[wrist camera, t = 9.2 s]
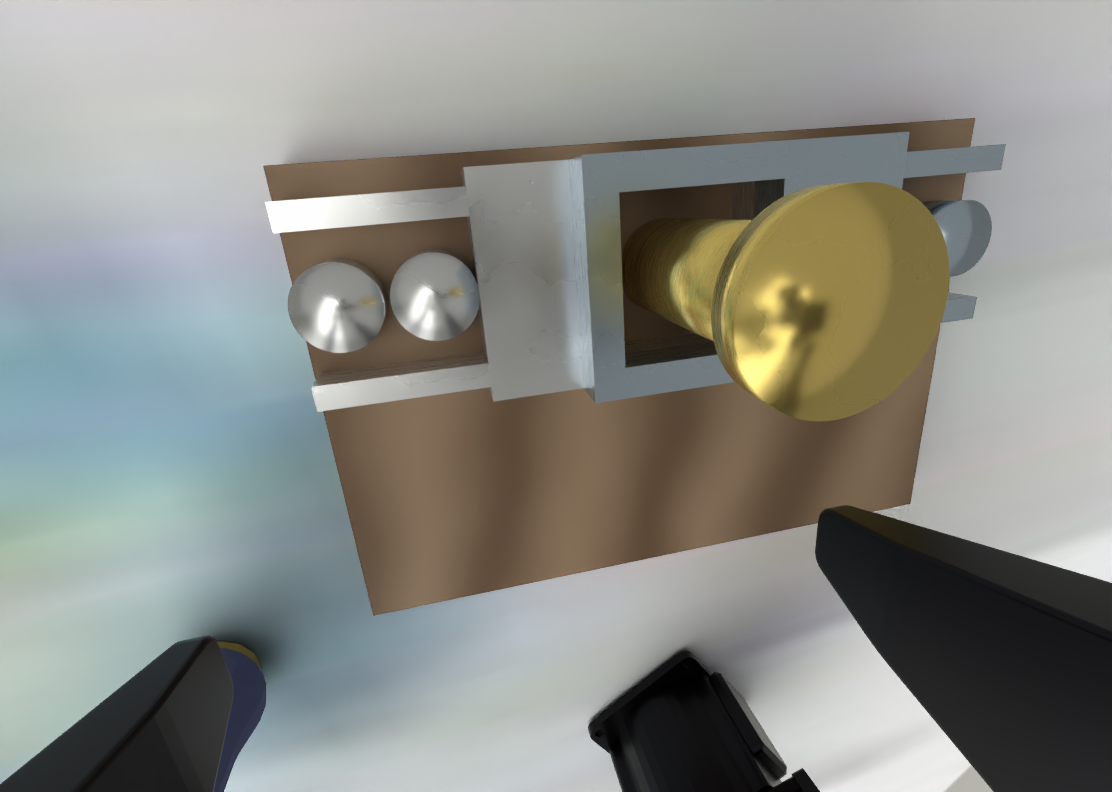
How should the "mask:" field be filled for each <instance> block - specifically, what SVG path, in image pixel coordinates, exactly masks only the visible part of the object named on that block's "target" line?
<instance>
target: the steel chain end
mask: <svg viewBox="0 0 1112 792" xmlns="http://www.w3.org/2000/svg"><path fill="white" fill-rule="evenodd" d="M461 176H462V184H463V187H451V188H438V189H425V190H412V191H400V192H387V193H374V194H361V195H348V196H335V197H323V198H310V199H297V200H284V201H271V202H265V204H266V208H267V212H268V216H269V220H270V224H271V228H272V232H273V233H283V232H295V231H306V230H317V229H329V228H340V227H352V226H363V225H375V224H386V223H397V222H409V221H420V220H432V219H443V218H455V217H466V216H467V222H468V230H469V238H470V246H471V253H472V261H473V269H474V276H473V274H472V273H471V271H470V269H469V268H468V266H467V265H466V264H465V263H464V262H463V261H462V260H461V259H460V258H458V257H457V256H455V255H454V254H452V253H449V252H447V251H443V250H438V249H428V250H423V251H419V252H417V253H415V254H413V255H411V256H410V257H408V258H407V259H406V260H405V261H404V262H403V263H402V264H401V266H400V267H399V269H398V270H397V272H396V274H395V276H394V278H393V280H392V284H391V288H390V302H391V307H392V310H393V312H394V315H395V316H396V318H397V320H398V321H399V323H400V324H401V325H402V326H403V327H404V328H405V329H406V330H407V331H409V332H410V333H412V334H413V335H415V336H417V337H419V338H422V339H425V340H431V341H443V340H448V339H451V338H454V337H456V336H458V335H460V334H461V333H463V332H464V331H465V330H466V329H467V328H468V327H469V326H470V325H471V324H472V322H473V321H474V319H475V317H476V315H477V312H478V309H479V315H480V323H481V331H482V339H483V346H484V352H476V353H469V354H461V355H453V356H446V357H438V358H431V359H423V360H415V361H408V362H400V363H392V364H385V365H377V366H370V367H362V368H354V369H347V370H339V371H332V372H324V373H320V375H319V376H318V378H317V379H316V381H315V382H314V383H313V385H312V386H311V389H312V393H313V397H314V401H315V405H316V409H317V412H320V411H327V410H334V409H341V408H348V407H355V406H362V405H369V404H376V403H383V402H390V401H397V400H404V399H411V398H418V397H425V396H432V395H439V394H446V393H453V392H460V391H467V390H474V389H481V388H488V387H489V390H490V393H491V396H492V399H493V402H494V401H501V400H508V399H514V398H521V397H528V396H535V395H541V394H548V393H555V392H562V391H569V390H575V389H582V388H583V381H582V366H581V350H580V335H579V320H578V305H577V289H576V274H575V259H574V244H573V228H572V213H571V198H570V183H569V167H568V160H556V161H542V162H528V163H514V164H500V165H486V166H472V167H463V168H462V170H461ZM714 185H715V184H714ZM702 186H703V185H702ZM690 187H691V186H690ZM678 188H679V187H678ZM666 189H667V188H666ZM654 190H655V189H654ZM642 191H643V190H642ZM630 192H631V191H630ZM755 192H756V181H749V182H738V183H731V216H730V219H740V220H753V219H754V214H755ZM474 277H475V278H474ZM288 311H289V316H290V319H291V321H292V323H293V326H294V327H295V329H296V330H297V332H298V333H299V334H300V335H301V336H302V337H303V338H304V339H305V340H306V341H307V342H309V343H310V344H311V345H313V346H315V347H317V348H319V349H321V350H325V351H328V352H333V353H347V352H353V351H356V350H359V349H361V348H363V347H364V346H366V345H368V344H369V343H370V342H371V341H372V340H373V339H374V338H375V337H376V336H377V334H378V333H379V331H380V329H381V327H382V324H383V322H384V320H385V318H386V315H387V311H388V296H387V292H386V289H385V287H384V285H383V283H382V281H381V279H380V278H379V277H378V276H377V274H376V273H375V272H374V271H372V270H371V269H370V268H369V267H367V266H366V265H364V264H362V263H360V262H358V261H355V260H351V259H345V258H335V259H329V260H326V261H323V262H321V263H319V264H317V265H315V266H313V267H311V268H309V269H307V270H306V271H304V272H303V273H302V274H301V275H299V277H298V278H297V279H296V280H295V282H294V283H293V285H292V287H291V289H290V292H289V296H288ZM704 342H711V340H709V339H707V338H705V337H702V336H700V335H698V334H696V333H694V332H690V333H682V334H675V335H667V336H660V337H652V338H645V339H638V340H630V341H625V353H632V352H639V351H646V350H653V349H661V348H668V347H675V346H682V345H690V344H697V343H704Z"/></svg>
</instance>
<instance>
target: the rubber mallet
mask: <svg viewBox="0 0 1112 792" xmlns="http://www.w3.org/2000/svg"><path fill="white" fill-rule="evenodd" d="M217 643H218V644H219V647H220V650H221V652H222V655H223V658H224V660H225V663H226V665H227V668H228V671H229V673H230V676H231V679H232V682H233V692H234V693H233V702H232V707H231V711H230V716H229V721H228V725H227V730H226V735H225V739H224V744H223V749H222V753H221V758H220V763H219V767H218V772H217V777H216V781H215V786H214V791H213V792H224V789H225V787H226V784H227V781H228V778H229V776H230V773H231V770H232V767H233V765H234V762H235V760H236V758H237V756H238V754H239V753H240V751H241V749H242V748H243V746H244V745H245V743H246V742H247V740H248V739H249V737H250V736H251V734H252V733H253V731H254V729H255V728H256V726H257V724H258V723H259V721H260V719H261V716H262V714H263V711H264V708H265V704H266V682H265V679H264V676H263V673H262V672H261V670H260V669H261V665H260V663H259V661H258V659H257V657H256V655H255V654H254V653H253V652H252V651H250V650H248V649H247V648H245V647H244V646H242V645H240V644H235V643H229V642H223V641H219V642H217Z"/></svg>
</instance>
